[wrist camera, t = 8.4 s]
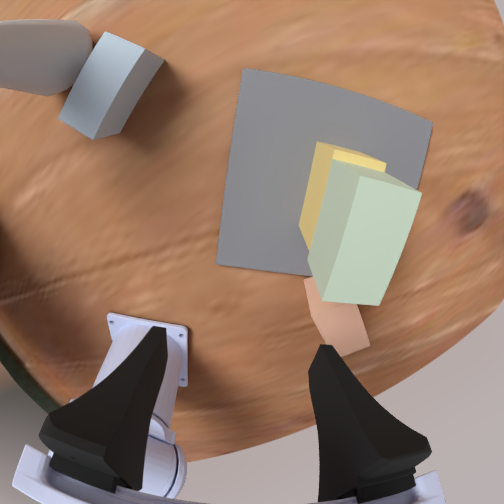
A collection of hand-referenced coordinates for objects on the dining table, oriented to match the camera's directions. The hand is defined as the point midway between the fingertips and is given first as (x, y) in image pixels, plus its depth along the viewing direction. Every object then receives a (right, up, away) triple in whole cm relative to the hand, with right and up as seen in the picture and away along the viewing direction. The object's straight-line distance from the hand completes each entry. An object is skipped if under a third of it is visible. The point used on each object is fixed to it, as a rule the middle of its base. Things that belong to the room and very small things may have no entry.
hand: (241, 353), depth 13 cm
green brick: (+6, +7, +3) cm, 9 cm away
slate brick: (-8, +16, +3) cm, 18 cm away
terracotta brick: (+7, +1, +10) cm, 13 cm away
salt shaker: (-13, +19, +1) cm, 23 cm away
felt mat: (+6, +9, +6) cm, 13 cm away
